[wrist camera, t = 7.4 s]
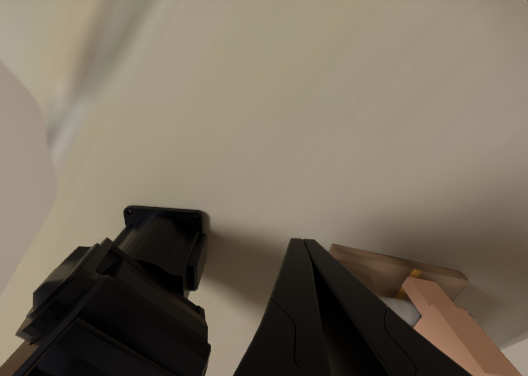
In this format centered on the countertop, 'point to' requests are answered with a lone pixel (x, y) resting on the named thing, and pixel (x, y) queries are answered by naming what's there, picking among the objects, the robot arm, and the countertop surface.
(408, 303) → the pipe stand
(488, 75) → the countertop surface
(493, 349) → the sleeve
